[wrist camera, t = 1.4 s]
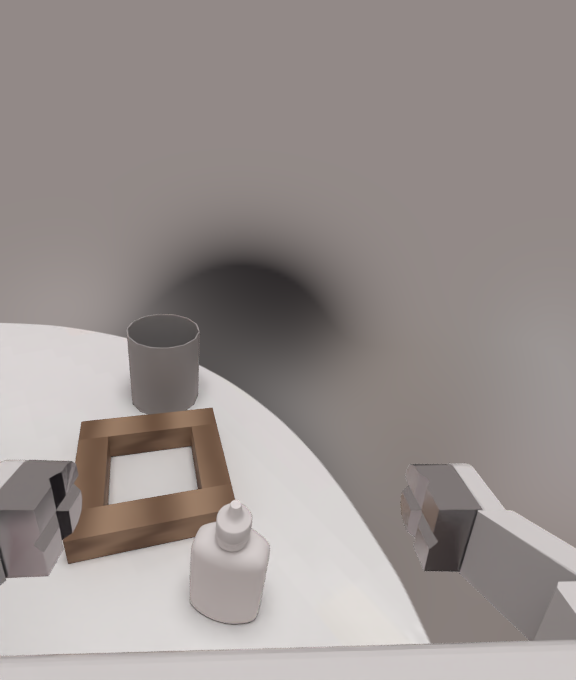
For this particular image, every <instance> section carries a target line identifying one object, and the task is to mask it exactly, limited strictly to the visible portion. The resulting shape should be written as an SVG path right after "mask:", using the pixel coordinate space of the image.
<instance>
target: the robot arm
mask: <svg viewBox="0 0 576 680" xmlns="http://www.w3.org/2000/svg"><path fill="white" fill-rule="evenodd" d="M78 476H79V475H78V470H77V466H76V464H75V463H74V462H72V461H48V460H5V461H2V462H0V585H1V584H2V583H4V582H5V581H6V578H18V577H41V576H49V574H50V573H51V571H52V569H53V567H54V565H55V564H56V562H57V560H58V558H59V556H60V555H61V553H62V551H63V544H62V540H63V539H65V538H66V537H67V536H69V535H70V534H72V533H73V531H74V529H75V527H76V525H77V523H78V521H79V517H80V514H81V510H82V494H81V490H80V489H79V488H78V487H77V486H76V485H75V484H74V482H75V480H76V479H77V477H78ZM405 478H406V480H407V482H408V484H409V485H408V486H407V487H406V488H405V489H404V490H403V491H402V496H401V502H400V503H401V515H402V519H403V523H404V526H405V528H406V530H407V532H409V533H410V534H411V535H412V536H414V537H415V541H414V545H413V547H414V549H415V552H416V554H417V556H418V559H419V560H420V563H421V566H422V568H423V570H424V571H449V572H460V573H459V574H460V575H461V576H463V577H464V578H465V579H466V580H467V581H468V582H469V583H470V584H471V585H472V586H473V587H474V588H475V589H476V590H477V591H478V592H479V593H480V594H481V595H482V596H483V597H484V598H486V599H487V600H488V601H489V602H490V603H491V604H492V605H493V606H494V607H495V608H496V609H497V610H498V611H499V612H500V613H501V614H502V615H503V616H504V617H505V618H506V619H508V621H510V622H511V623H512V624H513V625H514V626H515V627H516V628H517V629H518V630H519V631H520V632H521V633H522V634H523V635H524V636H525V637H526V638H527V639H528V640H529V641H509V642H476V643H475V642H471V643H438V644H401V645H367V646H332V647H298V648H263V649H227V650H192V651H157V652H122V653H87V654H52V655H17V656H0V680H576V548H574V547H573V546H571V545H569V544H567V543H566V542H564V541H563V540H561V539H559V538H558V537H556V536H554V535H552V534H551V533H549V532H547V531H546V530H544V529H542V528H541V527H539V526H537V525H535V524H534V523H532V522H531V521H529V520H527V519H526V518H524V517H522V516H521V515H519V514H517V513H515V512H514V511H510V510H505V508H504V507H503V506H502V504H501V503H500V502H499V501H498V499H497V498H496V497H495V495H494V494H493V493H492V492H491V490H490V489H489V488H488V486H487V485H486V484H485V482H484V481H483V480H482V479H481V477H480V476H479V475H478V473H477V472H476V471H475V469H474V468H473V467H472V466H471V465H469V464H410V465H409V467H408V468H407V471H406V476H405Z"/></svg>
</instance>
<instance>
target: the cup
mask: <svg viewBox="0 0 576 680" xmlns="http://www.w3.org/2000/svg"><path fill="white" fill-rule="evenodd" d="M199 335H200V331H199V328H198V326H197V324H196V323H194V322H193V321H191V320H190V319H188V318H185V317H182V316H178V315H173V314H156V315H149V316H144V317H142V318H140V319H137V320H135V321H133V322H132V323H131V324H130V325H129V326H128V328H127V340H128V353H129V365H130V378H131V391H132V401H133V405H134V406H135V407H136V408H137V409H138V410H139V411H140V412H143V413H146V414H158V413H168V412H177V411H186V410H187V409H188V408H190V407H191V406H192V405H194V403H195V401H196V398H197V396H198V372H199Z"/></svg>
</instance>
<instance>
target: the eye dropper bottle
mask: <svg viewBox="0 0 576 680" xmlns="http://www.w3.org/2000/svg"><path fill="white" fill-rule="evenodd" d="M251 525H252V514H251V512H250V510H249V509H248V508H247V507H246V506H245V505H243V504H241V502H240V501H239V500H233V501H232V502H231V503H229V504H227V505H225V506H224V507H222V508H221V509H220V510H219V512H218V514H217V517H216V522H212V523H208V524H205V525H203V526H201V527H200V528H199V530H198V532H197V534H196V536H195V539H194V541H193V544H192V548H191V562H190V602H191V604H192V605H193V606H194V607H195V608H196V609H197V610H198V611H199V612H201V613H202V614H203V615H205V616H207V617H209V618H211V619H213V620H216V621H219V622H223V623H230V624H239V623H247V622H251V621H252V620H254V619H255V618H256V616H257V614H258V611H259V607H260V602H261V598H262V592H263V587H264V582H265V577H266V571H267V566H268V561H269V555H270V545H269V543H268V541H267V540H266V539H265V538H264V537H263V536H262V535H260V534H259V533H258V532H256V531H255V530H253V529H252V528H251Z"/></svg>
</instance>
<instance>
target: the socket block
mask: <svg viewBox="0 0 576 680" xmlns="http://www.w3.org/2000/svg"><path fill="white" fill-rule="evenodd" d="M186 446H191V447H192V454H193V460H194V466H195V472H196V478H197V485H198V489H197V490H191V491H186V492H180V493H174V494H168V495H163V496H157V497H151V498H145V499H140V500H134V501H128V502H123V503H117V504H111V505H108V495H109V479H110V462H111V457H113V456H120V455H128V454H135V453H142V452H150V451H157V450H164V449H172V448H179V447H186ZM75 464H76V466H77V470H78V475H79V476H78V477H77V479H76V480H75V482H74V484H75V485H76V486H77V487H78V488H79V489H80V490H81V494H82V510H81V514H80V517H79V521H78V523H77V525H76V527H75V529H74V531H73V533H72V534H70V535H69V536H67V537H66V538H65V539H63V544H64V548H65V552H66V556H67V560H68V564H70V563H74V562H79V561H84V560H88V559H93V558H98V557H102V556H107V555H112V554H116V553H121V552H126V551H130V550H135V549H140V548H145V547H149V546H154V545H159V544H163V543H168V542H173V541H177V540H182V539H187V538H191V537H195V536H196V534H197V532H198V530H199V528H200V527H201V526H203V525H205V524H208V523H212V522H216V517H217V514H218V512H219V510H220V509H221V508H222V507H224V506H225V505H227V504H229V503H231V502H232V501H233V500H235V498H234V494H233V489H232V485H231V481H230V477H229V473H228V469H227V465H226V461H225V457H224V453H223V449H222V445H221V441H220V437H219V433H218V429H217V424H216V420H215V416H214V412H213V408H205V409H196V410H186V411H177V412H168V413H158V414H149V415H139V416H130V417H121V418H111V419H102V420H92V421H83V422H81V429H80V435H79V442H78V448H77V455H76V461H75Z"/></svg>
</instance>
